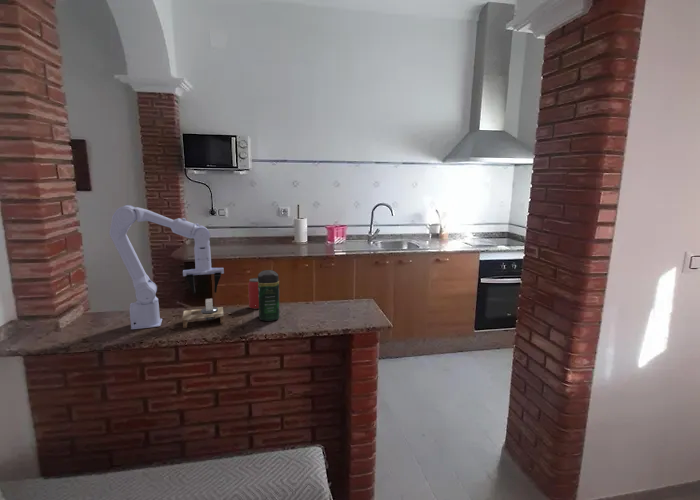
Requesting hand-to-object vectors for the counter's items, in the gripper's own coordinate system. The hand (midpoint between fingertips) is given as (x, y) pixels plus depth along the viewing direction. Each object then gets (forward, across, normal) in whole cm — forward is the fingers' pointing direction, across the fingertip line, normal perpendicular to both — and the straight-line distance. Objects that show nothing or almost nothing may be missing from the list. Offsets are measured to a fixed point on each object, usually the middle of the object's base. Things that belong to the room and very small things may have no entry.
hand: (204, 292), depth 150 cm
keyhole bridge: (+10, -1, -5) cm, 11 cm away
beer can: (+10, +20, +7) cm, 24 cm away
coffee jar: (+10, +23, -8) cm, 27 cm away
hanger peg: (+9, +1, -5) cm, 10 cm away
